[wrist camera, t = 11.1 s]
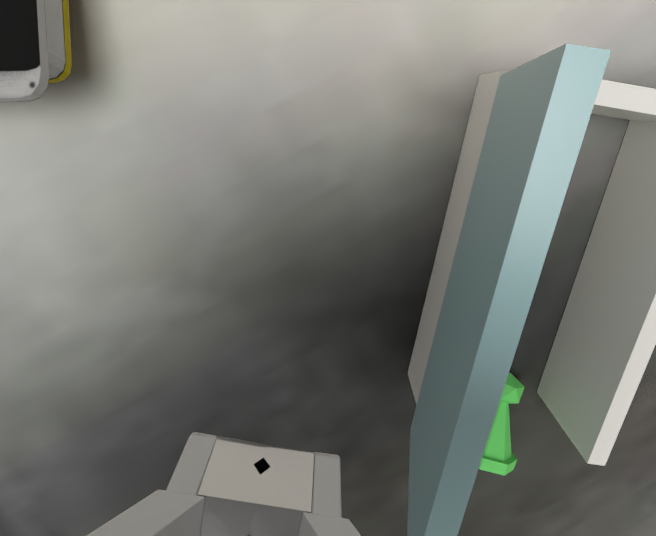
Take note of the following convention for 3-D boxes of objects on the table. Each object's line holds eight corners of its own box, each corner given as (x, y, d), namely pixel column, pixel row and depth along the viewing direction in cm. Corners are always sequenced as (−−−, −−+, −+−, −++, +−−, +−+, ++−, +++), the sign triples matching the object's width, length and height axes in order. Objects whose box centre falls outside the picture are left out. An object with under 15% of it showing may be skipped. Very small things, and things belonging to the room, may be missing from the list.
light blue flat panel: (433, 609, 17) (405, 601, 17) (428, 433, 26) (410, 429, 27) (611, 50, 11) (566, 43, 11) (524, 79, 21) (500, 75, 21)
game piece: (446, 454, 32) (477, 368, 31) (451, 431, 36) (478, 354, 35) (514, 484, 30) (548, 395, 30) (512, 456, 34) (541, 377, 34)
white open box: (550, 393, 34) (604, 465, 27) (407, 373, 33) (426, 441, 27) (653, 104, 28) (754, 106, 21) (479, 74, 27) (527, 66, 21)
